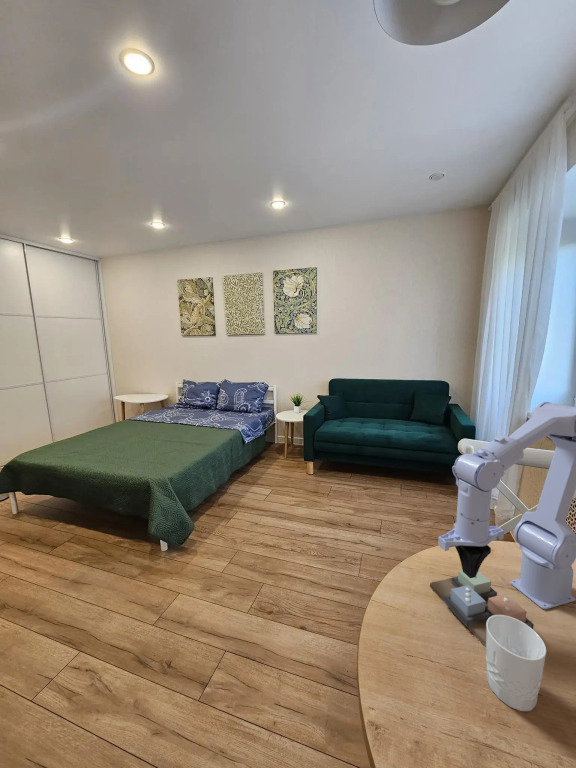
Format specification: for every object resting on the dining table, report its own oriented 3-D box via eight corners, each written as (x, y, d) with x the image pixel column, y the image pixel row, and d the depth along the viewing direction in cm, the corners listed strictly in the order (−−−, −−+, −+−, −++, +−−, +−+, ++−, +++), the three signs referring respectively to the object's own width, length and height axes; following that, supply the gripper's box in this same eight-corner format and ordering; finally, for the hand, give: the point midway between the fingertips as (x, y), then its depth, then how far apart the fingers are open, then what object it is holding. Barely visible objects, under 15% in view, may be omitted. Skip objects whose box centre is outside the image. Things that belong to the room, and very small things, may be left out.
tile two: (504, 604, 65) (505, 592, 65) (525, 622, 61) (526, 610, 60) (487, 608, 64) (488, 597, 64) (507, 627, 60) (508, 615, 59)
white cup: (552, 722, 46) (558, 664, 45) (494, 710, 48) (499, 654, 47) (523, 668, 54) (528, 618, 53) (475, 660, 56) (478, 611, 55)
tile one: (473, 577, 73) (474, 566, 72) (490, 591, 68) (491, 580, 68) (457, 580, 72) (458, 570, 71) (473, 595, 67) (474, 584, 67)
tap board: (468, 577, 75) (469, 568, 75) (539, 641, 59) (540, 630, 59) (426, 587, 73) (427, 578, 72) (489, 657, 56) (490, 645, 56)
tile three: (467, 595, 68) (468, 584, 67) (484, 612, 63) (485, 600, 63) (450, 599, 67) (450, 588, 66) (467, 617, 62) (467, 605, 62)
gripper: (484, 499, 68) (481, 555, 70) (429, 508, 64) (426, 567, 66) (515, 516, 61) (510, 578, 63) (454, 527, 58) (451, 592, 59)
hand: (469, 574), depth 64 cm, fingers closed
